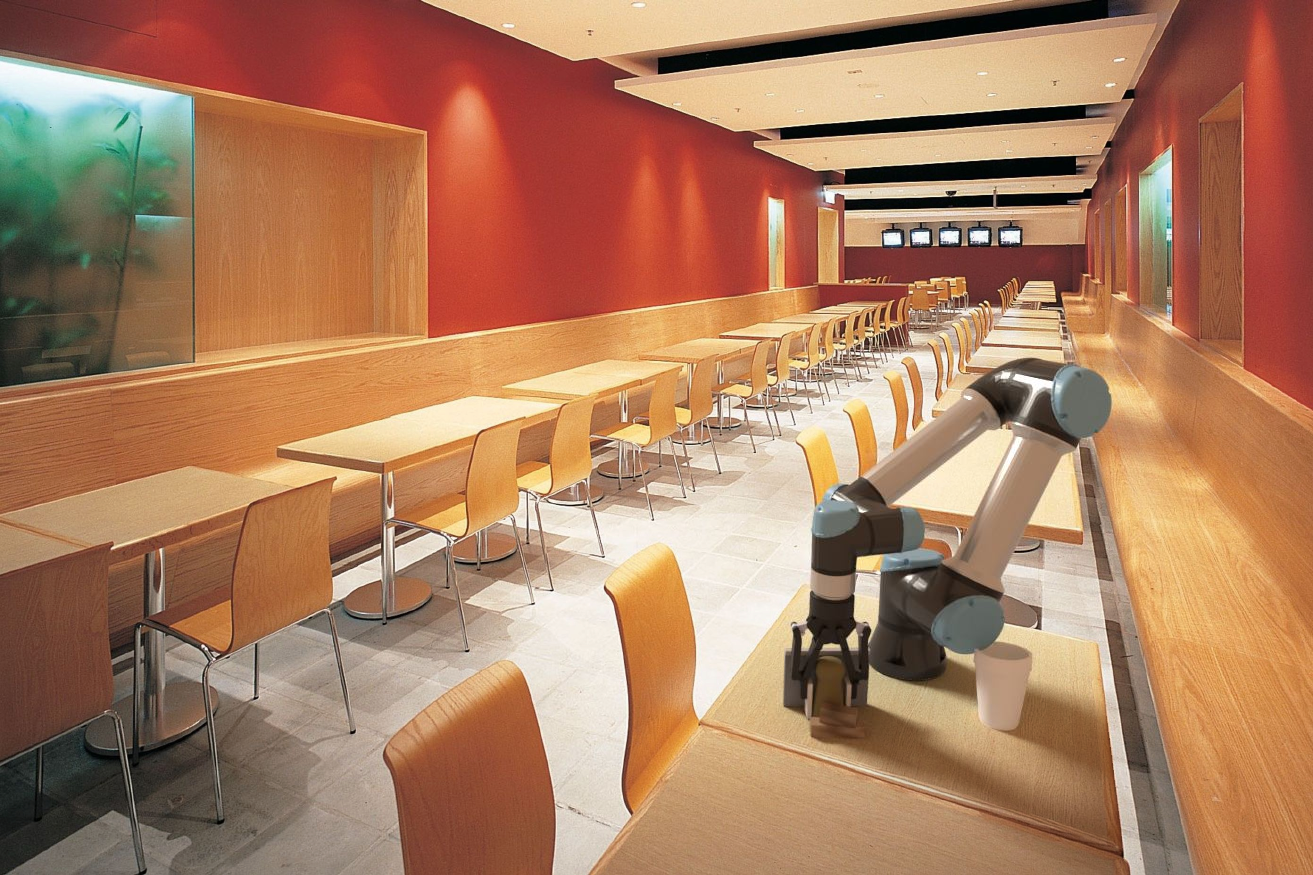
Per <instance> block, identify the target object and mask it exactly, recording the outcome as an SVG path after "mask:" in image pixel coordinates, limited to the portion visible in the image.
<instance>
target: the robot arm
mask: <svg viewBox="0 0 1313 875" xmlns="http://www.w3.org/2000/svg"><path fill="white" fill-rule="evenodd" d="M1112 403H1113V402H1112V394H1111V393H1110V388H1109V385H1108V383H1107V381H1106V379H1104V377H1103V376H1102V375H1101V374H1099V373H1098V372H1097V371H1095V370H1093V369H1090V368H1087V367H1083V366H1081V365H1078V364H1075V363H1070V364H1069V363H1063V362H1057V361H1051V360H1046V359H1042V358H1039V357H1038V358H1037V357H1023V358H1017V359H1014V360H1010V361H1008V362H1005V363H1003V364H1001V365H999V366H997V367H995V368H993V369H992V370H989V371H988V372H987V373H984V374H983V375H982V376H980V377H978V378H977V379H976V380H974V381H973V382H971V384H969V385H968V386H967V387H965V388H964V389H962V391H961V392H960V399H959V400H958V401H956V402H955V403H954V404H953V405H951V406H949V407H948V408H947V409H946V410H944V411H943V412H942V413H941V414H939V415H938V416H937V417H935V418H934V419H933V420H931V422H929V423H928V424H927V425H925V426H924V427H923V428H921V429H920V430H919V431H917V432H916V433H915V434H914V435H912V436H911V437H910V438H909V439H907V440H906V441H904V443H902V444H901V445H899V446H898V447H897V448H896V449H894V450H893V451H892V452H890V453H889V454H888V455H886V456H885V457H884V458H882V459H881V460H880V461H879V462H877V463H876V464H875V465H874V466H872V467H871V468H870V469H868V470H867V471H866V472H865V473H864V474H862V475H860V477H858V478H857V479H855V480H854V481H853V482H851V483H850V484H848V483H837V484H833V485H831V486H829V487H828V489H827V490H826V491H825V492H824V494H823V496H822V499H821V502H819V503H817V504H816V505H815V506H814V508H813V509H814V510H813V515H812V523H811V528H810V530H811V557H810V558H811V560H810V561H811V562H810V579H809V580H810V582H809V584H810V585H809V588H810V592H809V603H808V604H809V607H808V608H809V609H808V610H809V611H808V615H807V617H806V619H805V621H801V622H796V621H792V622H791V623H790V627H791V628H790V629H791V631H792V642H791V643H792V644H791V648H792V651H791V660H790V670H789V671H790V675H791V678H792V680H798V681H800V688H799V689H800V690H799V693H800V696H801V699H805V706H804V713H805V717H806V719H807V720H808V719H809V720H810V717H811V714H812V689H813V684H812V681H811V678H810V676H811V674H812V671H813V668H814V666H815V663H816V661H817V658H818V655H819V653H820V651H821V650H822V648H824V645H825V646H826V645H831V644H832V645H835V646H838V645H839V648H841V651H842V655H843V658H844V661H845V665H846V668H847V671H848V675H849V677H844V688H843V702H844V706H849V707H852V706H851V699H856V697H857V685H859V681H860V680H867V679H868V678H870V674H869V673H870V667H871V668H873V669H874V670H876V671H877V672H879V673H881V674H883V675H886V676H888V677H893V678H896V679H901V680H906V681H907V680H908V681H927V680H932V679H935V678H938V677H940V676H942V675H943V674H944V673H945V672H946V669H947V661H948V660H947V658H948V657H947V653H946V649H947V650H949V651H951V652H953V653H955V654H958V655H972V654H973V655H974V649H978V650H984V649H986V648H987V647H989V646H990V645H991V644H992V643H993V642H996V640H997V639H998V638H999V637H1000V636H1001V633H1002V632H1003V628H1004V626H1005V623H1006V622H1005V620H1006V617H1005V616H1004V615H1005V612H1004V608H1003V607H1002V605H1001V603H1000V601H1001V599H1003V598H1002V597H1003V595H1004V594H1005V591H1006V590H1005V588H1004V585H1003V582H1002V577H1003V575H1004V573H1005V571H1006V569H1007V567H1008V565H1009V563H1010V561H1011V559H1012V557H1013V555H1014V553H1015V551H1016V549H1017V547H1018V544H1019V543H1020V541H1021V539H1022V536H1023V534H1024V533H1025V531H1026V528H1027V527H1028V525H1029V523H1030V521H1031V519H1032V518H1033V517H1032V516H1033V514H1034V513H1035V510H1036V509H1037V507H1038V506H1039V505H1038V504H1039V503H1040V501H1041V498H1042V496H1043V494H1044V492H1045V491H1046V488H1047V487H1048V485H1049V483H1050V480H1051V479H1052V477H1053V476H1054V473H1055V470H1056V469H1057V467H1058V465H1059V463H1060V461H1061V459H1062V457H1064V456H1065V455H1067V454H1071V453H1073V452H1076V450H1077V447H1079V444H1080V442H1081V440H1082V439H1086V438H1090V437H1094V435H1095V434H1098V433H1099V432H1100V431H1102V430H1103V429H1104V427H1105V426H1106V424H1107V423H1108V421H1109V418H1110V414H1111V411H1112V406H1113V405H1112ZM1007 423H1009V426H1010V429H1011V432H1012V438H1011V440H1010V442H1009V445H1008V446H1007V448H1006V450H1005V452H1004V454H1003V457H1002V458H1001V460H1000V462H999V464H998V466H997V468H996V470H995V472H994V475H993V476H992V478H991V479H990V480H991V481H990V483H989V485H988V487H987V489H986V490H985V492H984V494H983V497H982V499H981V501H980V503H979V505H978V507H977V509H976V511H975V513H974V515H973V517H972V519H971V521H970V523H969V525H968V527H967V528H966V531H965V533H964V535H963V538H962V539H961V541H960V544H959V545H958V548H957V549H956V551H955V554H954V555H953V556H951V557H948V558H945V555H944V554H943V553H941V552H939V551H938V550H933V549H929V548H921V546H922V545H923V543H924V540H925V533H926V532H925V531H926V529H925V528H926V527H925V524H924V520H923V517H922V516H921V514H920V512H919V511H918V510H916V508H913V507H902V506H899V507H896V508H893V507H890V506H891V505H893V504H894V503H895V502H897V501H898V500H899V499H901V498H902V497H903V496H905V495H906V494H907V493H908V492H910V491H911V490H912V489H914V488H915V487H916V486H918V484H920V483H921V482H923V481H924V480H925V479H926V478H927V477H930V475H931V474H933V473H935V472H936V471H937V470H939V468H940V467H942V465H945V463H948V461H950V460H951V459H952V458H953V457H955V456H956V455H957V454H959V453H960V452H961V451H963V450H964V449H965V448H966V447H968V446H969V445H970V444H972V443H973V442H974V441H976V439H978V438H980V436H982V435H983V434H984V433H985V432H987V431H997V430H998V429H1000V428H1001V427H1002V426H1003V425H1005V424H1007ZM880 555H883V556H882V559H881V564H880V570H879V572H880V576H879V577H880V579H879V597H878V598H879V600H878V617H877V623H876V626H875V628H874V630H873V632H872V628H871V626H870V624H869V622H867V621H863V622H859V621H856V618H855V601H856V596H855V592H856V580H857V579H856V576H857V561H858V558H864V557H871V556H880ZM807 629H808V630H809V633H811V635H812V637H811V642H810V645H809V647H808V648H809V650H808V653H807V655H806V658H805V660H804V663H803V666H802V668H801V671H799V666H800V657H801V648H803V647H802V646H803V638H802V637H804V636H805V634H806V631H807ZM854 630H855V632H856V634H857V638H858V639H857V644H858V645H857V646H858V647H857V648H858V656H859V670H857V671H855V667H854V664H853V661H852V657H851V654H850V651H849V648H850V647H849V643H848V640H847V639H848V637H850V635H851V634H852V633H853V631H854ZM870 636H871V637H870ZM869 639H870V640H869ZM868 647H869V649H870V662H869V660H868ZM945 648H946V649H945ZM868 680H869V679H868Z"/></svg>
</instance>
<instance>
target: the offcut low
mask: <svg viewBox="0 0 1313 875" xmlns="http://www.w3.org/2000/svg"><path fill="white" fill-rule="evenodd" d="M819 719H820V717H810V719H809V726H808V727H809V732H810V737H811V738H833V739H834V738H835V739H857V740H860V739H861V740H866V731H867V730H866V729H867V728H866V724H865V721H864V718H857V724H856V728H855V729H854V728H849V727H843V726H838V725H832V724H827V723H821V722H819Z"/></svg>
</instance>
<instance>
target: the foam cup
mask: <svg viewBox="0 0 1313 875" xmlns="http://www.w3.org/2000/svg"><path fill="white" fill-rule="evenodd" d="M973 663H974V667H975V668H974V669H975V670H974V671H975V682H976V695H977V696H976V698H977V706H978V707H977V708H978V709H977V711H978V719H979V720H980V722H981V723H982V724H983V725H985V726H986V727H989V728H991V729H994V730H997V731H1005V732H1006V731H1012V730H1015V729H1016V728H1018V727H1019V726H1018V725H1019V724H1020V720H1021V715H1022V711H1023V710H1022V709H1023V705H1024V702H1025V701H1024V700H1025V696H1026V691H1027V686H1028V682H1029V678H1030V673H1031V672H1032V671H1033V668H1032V667H1033V652H1031V651H1030V650H1029V649H1028V648H1025V647H1023V646H1020V645H1018V644H1015V643H1009V642H1005V641H994V642H993V643H992V644H991V645H990V646H989V647H987V648H986V649H984V650H978V649H974V654H973Z"/></svg>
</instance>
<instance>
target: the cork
mask: <svg viewBox="0 0 1313 875" xmlns="http://www.w3.org/2000/svg"><path fill="white" fill-rule="evenodd" d="M815 673H816V675H817V681H816V687H815V692H814V697H813V702H812V714H811V717H820V707H821V704H822V702H826V703H832V704H838V705H843V706H844V702H843V691H842V678H843V677H844V674H845V666H844V663H843V662H842V660H840V659H839V658H836V657H833V656H824V657H821V658H819V659H818V660H817V661H816V663H815Z"/></svg>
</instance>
